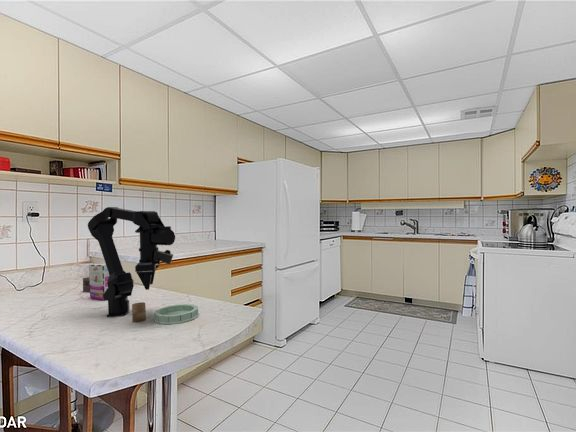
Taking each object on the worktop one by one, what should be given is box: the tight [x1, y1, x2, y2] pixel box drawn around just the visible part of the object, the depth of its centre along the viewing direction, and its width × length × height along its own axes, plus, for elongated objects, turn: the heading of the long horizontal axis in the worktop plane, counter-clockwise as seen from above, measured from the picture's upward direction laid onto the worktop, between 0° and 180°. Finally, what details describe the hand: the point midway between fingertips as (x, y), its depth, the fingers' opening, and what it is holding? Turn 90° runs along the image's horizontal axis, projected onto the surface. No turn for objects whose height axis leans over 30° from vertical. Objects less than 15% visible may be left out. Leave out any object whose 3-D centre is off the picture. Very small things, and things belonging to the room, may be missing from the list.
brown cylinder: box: [131, 301, 147, 324], centre depth 115 cm, size 4×4×6 cm
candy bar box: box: [88, 263, 109, 302], centre depth 150 cm, size 11×5×16 cm, turn 62°
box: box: [82, 276, 90, 293], centre depth 168 cm, size 6×6×7 cm
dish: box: [153, 303, 199, 325], centre depth 117 cm, size 15×15×3 cm
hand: (149, 286), depth 118 cm, fingers open, 9 cm apart
